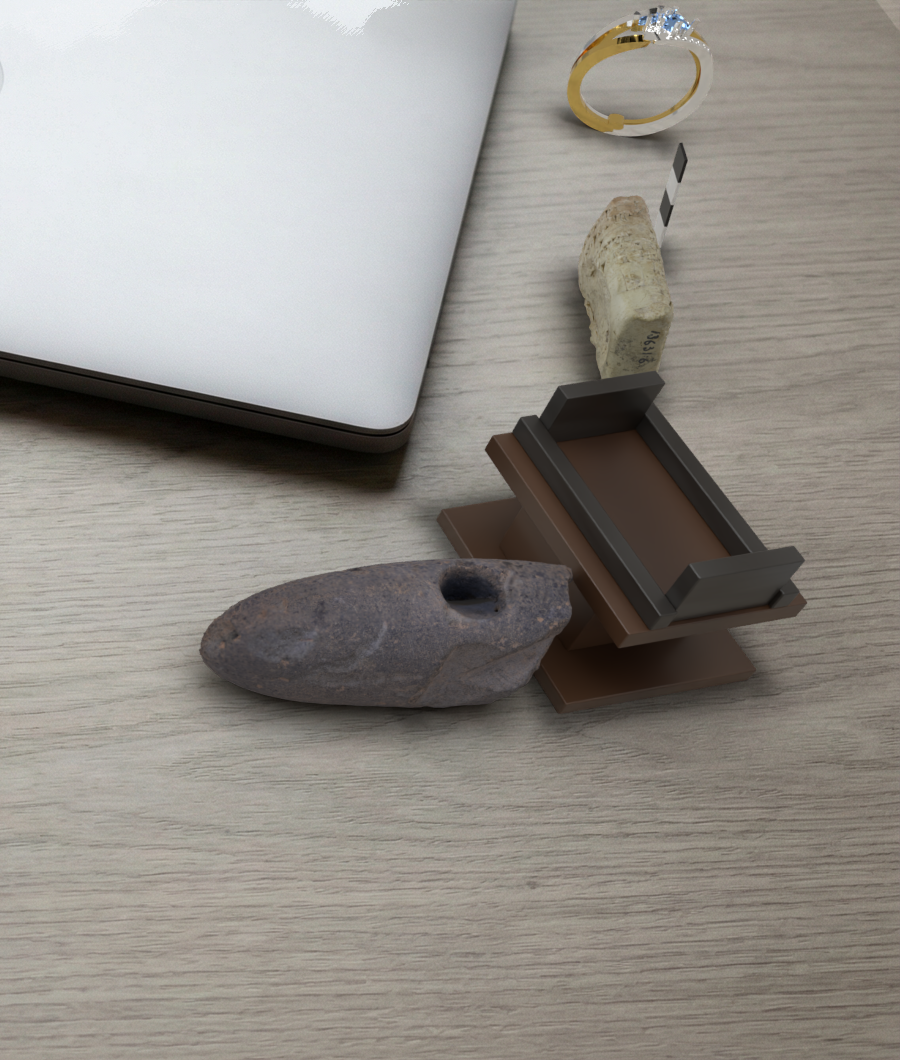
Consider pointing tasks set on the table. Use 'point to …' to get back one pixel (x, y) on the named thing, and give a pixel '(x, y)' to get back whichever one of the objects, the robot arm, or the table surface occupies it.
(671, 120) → the ring
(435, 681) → the perforated stone tool
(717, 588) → the stand
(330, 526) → the table surface
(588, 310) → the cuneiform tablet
